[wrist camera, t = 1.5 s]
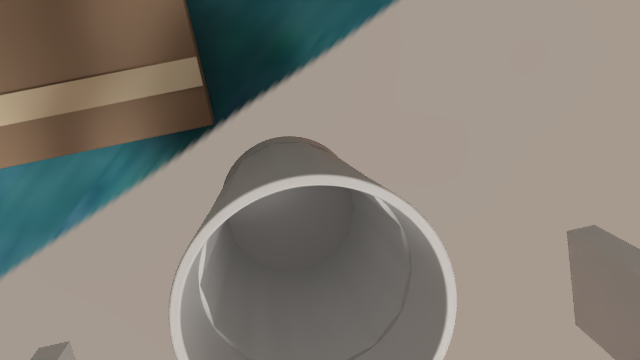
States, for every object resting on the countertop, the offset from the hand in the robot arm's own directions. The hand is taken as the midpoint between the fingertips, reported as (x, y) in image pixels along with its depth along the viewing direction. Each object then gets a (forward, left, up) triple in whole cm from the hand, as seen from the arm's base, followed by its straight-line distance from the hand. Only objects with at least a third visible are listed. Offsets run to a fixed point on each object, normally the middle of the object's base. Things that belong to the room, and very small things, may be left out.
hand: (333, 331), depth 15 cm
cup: (0, 0, -13) cm, 13 cm away
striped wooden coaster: (-8, +10, -13) cm, 18 cm away
